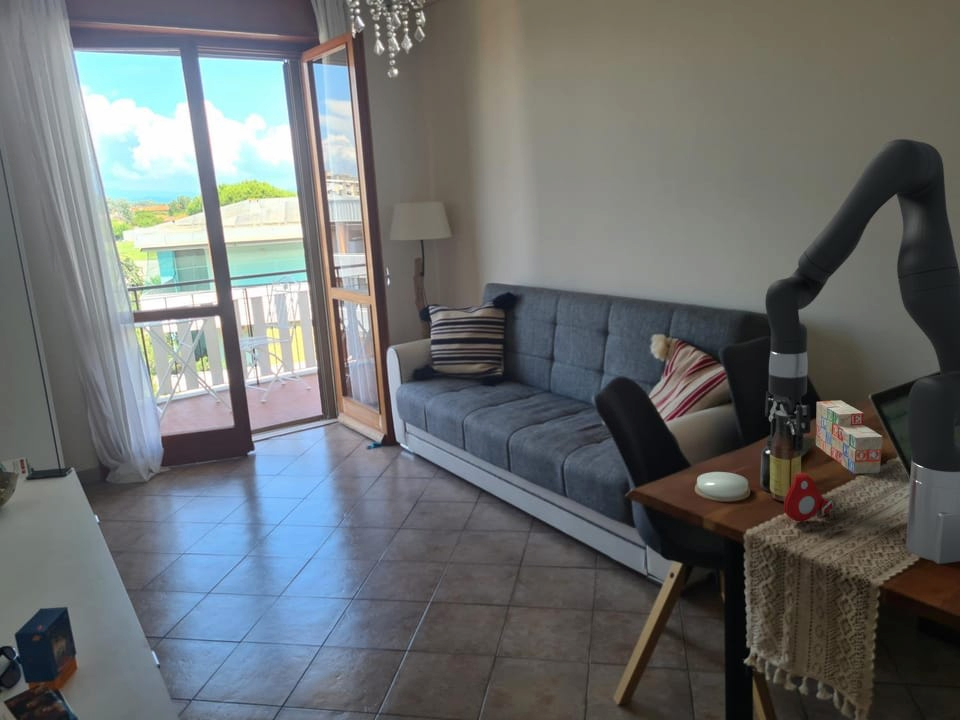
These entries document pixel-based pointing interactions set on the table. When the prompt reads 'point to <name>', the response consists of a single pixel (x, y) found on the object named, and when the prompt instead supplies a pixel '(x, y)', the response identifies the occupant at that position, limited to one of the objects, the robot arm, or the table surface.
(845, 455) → the stack of blocks
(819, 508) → the tracker holder
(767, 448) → the supplement bottle
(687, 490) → the table surface
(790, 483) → the sauce bottle
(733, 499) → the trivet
